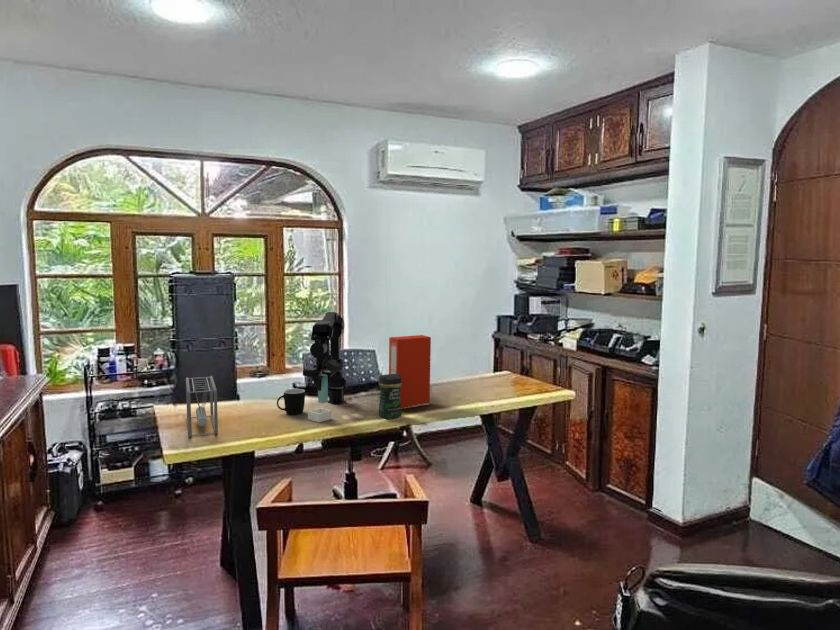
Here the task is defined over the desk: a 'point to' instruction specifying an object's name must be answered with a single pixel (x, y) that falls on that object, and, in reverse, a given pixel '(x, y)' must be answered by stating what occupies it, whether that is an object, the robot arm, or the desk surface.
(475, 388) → the desk surface
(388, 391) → the coffee jar
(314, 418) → the white square tray
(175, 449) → the desk surface
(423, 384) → the file binder
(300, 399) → the mug
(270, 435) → the desk surface
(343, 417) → the coaster
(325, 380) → the dowel
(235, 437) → the desk surface
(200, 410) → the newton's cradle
